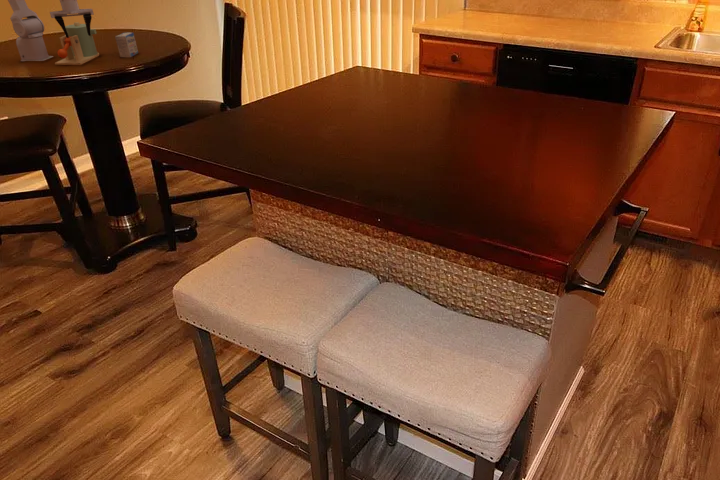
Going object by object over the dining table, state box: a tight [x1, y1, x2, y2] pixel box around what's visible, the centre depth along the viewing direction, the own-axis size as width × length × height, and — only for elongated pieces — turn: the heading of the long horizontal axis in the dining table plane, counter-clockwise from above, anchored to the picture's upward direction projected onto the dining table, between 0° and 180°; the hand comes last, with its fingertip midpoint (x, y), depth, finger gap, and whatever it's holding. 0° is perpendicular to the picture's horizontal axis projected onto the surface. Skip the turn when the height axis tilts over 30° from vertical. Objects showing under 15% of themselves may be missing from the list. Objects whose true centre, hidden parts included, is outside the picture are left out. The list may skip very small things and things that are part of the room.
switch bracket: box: [54, 34, 96, 66], centre depth 225 cm, size 12×10×10 cm
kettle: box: [65, 21, 100, 58], centre depth 232 cm, size 12×11×13 cm
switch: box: [56, 37, 72, 59], centre depth 221 cm, size 11×3×3 cm, turn 179°
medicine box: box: [115, 31, 139, 58], centre depth 234 cm, size 8×4×9 cm, turn 179°
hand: (78, 36), depth 220 cm, fingers open, 7 cm apart
